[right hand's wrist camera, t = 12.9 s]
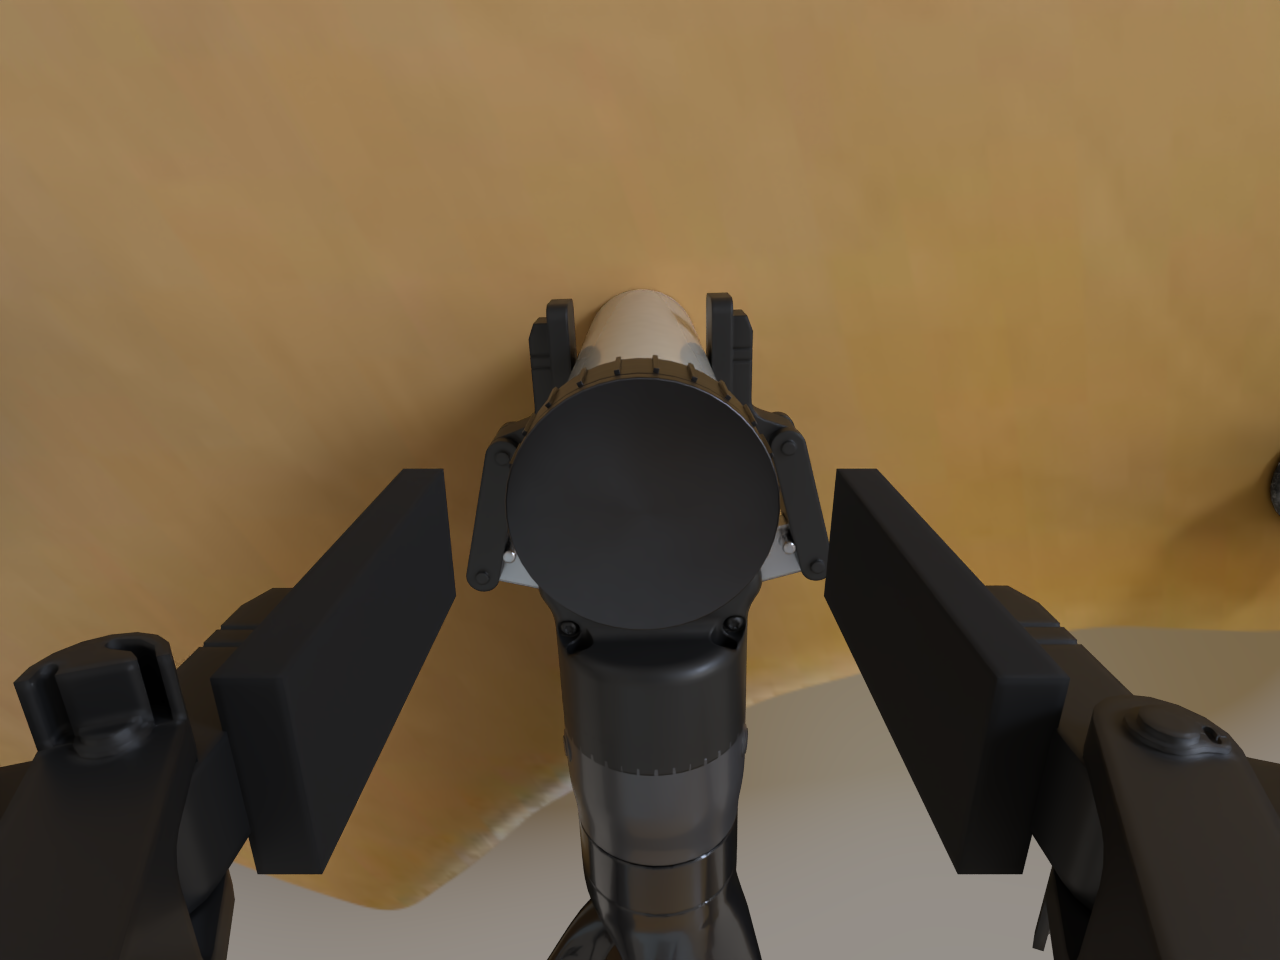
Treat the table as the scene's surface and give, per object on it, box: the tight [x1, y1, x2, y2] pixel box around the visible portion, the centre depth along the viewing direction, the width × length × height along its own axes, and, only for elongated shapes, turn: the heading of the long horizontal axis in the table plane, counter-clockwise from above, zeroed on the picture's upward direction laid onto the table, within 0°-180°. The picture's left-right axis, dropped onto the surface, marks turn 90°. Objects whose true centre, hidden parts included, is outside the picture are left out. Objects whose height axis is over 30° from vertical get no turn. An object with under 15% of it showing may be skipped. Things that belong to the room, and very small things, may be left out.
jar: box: [568, 289, 717, 381], centre depth 23 cm, size 5×5×18 cm
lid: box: [505, 355, 780, 630], centre depth 15 cm, size 6×6×2 cm
